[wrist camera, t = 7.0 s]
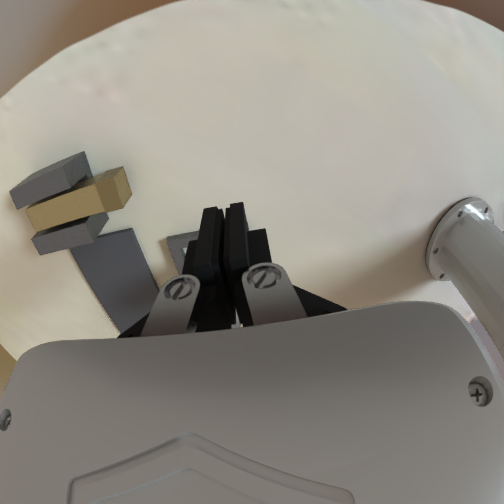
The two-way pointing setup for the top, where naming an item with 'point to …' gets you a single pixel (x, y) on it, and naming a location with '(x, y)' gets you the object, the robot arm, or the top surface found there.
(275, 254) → the top surface
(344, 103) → the top surface
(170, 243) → the socket collar
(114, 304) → the mat
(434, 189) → the top surface
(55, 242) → the socket block
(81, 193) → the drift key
